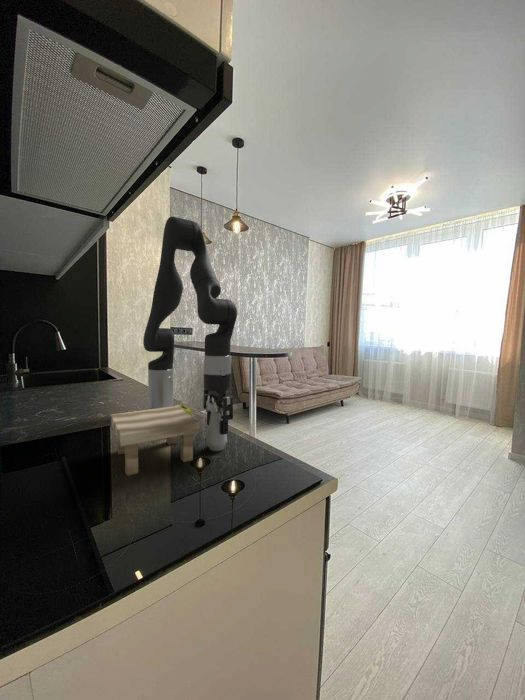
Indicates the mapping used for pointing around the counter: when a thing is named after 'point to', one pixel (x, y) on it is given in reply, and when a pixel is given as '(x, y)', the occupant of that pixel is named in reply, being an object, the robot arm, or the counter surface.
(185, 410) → the apple
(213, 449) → the salt shaker
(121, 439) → the footstool
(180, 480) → the counter surface
